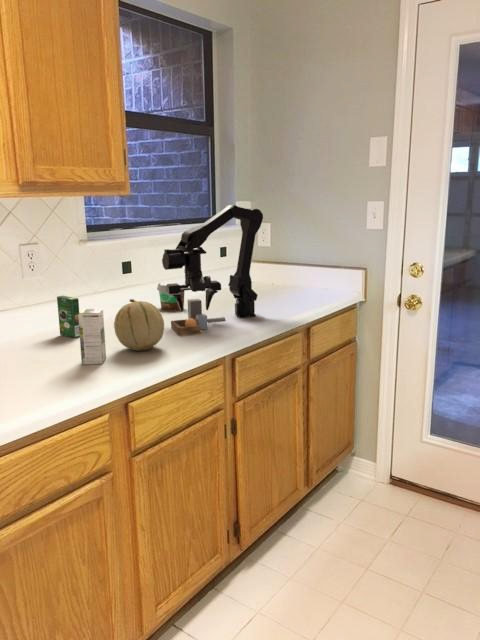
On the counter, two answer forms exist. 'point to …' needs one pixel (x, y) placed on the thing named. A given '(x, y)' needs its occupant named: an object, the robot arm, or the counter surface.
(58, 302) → the coffee box
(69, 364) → the counter surface
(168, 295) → the food container
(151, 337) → the cantaloupe
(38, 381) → the counter surface
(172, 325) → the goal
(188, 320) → the ball
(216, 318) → the rail
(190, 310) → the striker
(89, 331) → the syrup box
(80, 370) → the counter surface
